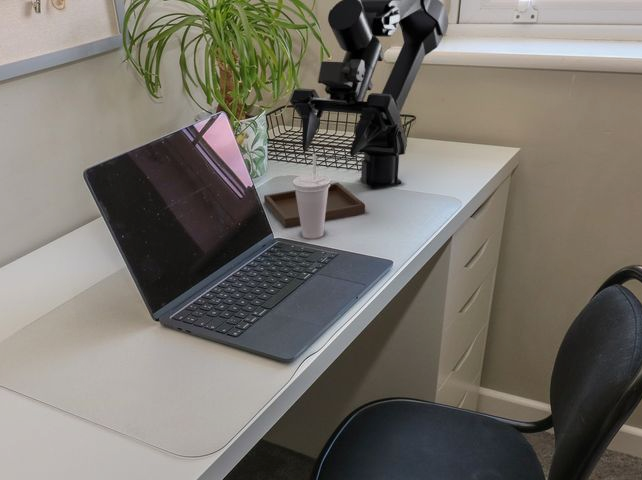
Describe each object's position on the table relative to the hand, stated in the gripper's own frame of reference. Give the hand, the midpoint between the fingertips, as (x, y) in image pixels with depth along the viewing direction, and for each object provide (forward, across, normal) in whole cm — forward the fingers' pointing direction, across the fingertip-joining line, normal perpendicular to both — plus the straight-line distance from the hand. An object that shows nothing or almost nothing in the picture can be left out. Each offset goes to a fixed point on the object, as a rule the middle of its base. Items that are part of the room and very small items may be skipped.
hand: (327, 152), depth 119 cm
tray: (+5, -6, +13) cm, 15 cm away
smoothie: (+13, 0, +5) cm, 14 cm away
